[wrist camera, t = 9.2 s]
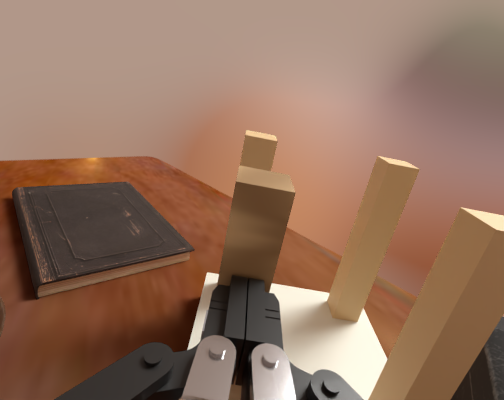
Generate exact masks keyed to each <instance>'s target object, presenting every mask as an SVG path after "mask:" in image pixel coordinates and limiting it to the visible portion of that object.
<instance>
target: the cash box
mask: <svg viewBox="0 0 504 400" xmlns="http://www.w3.org/2000/svg"><path fill="white" fill-rule="evenodd" d="M451 400H504V317H502V318H501V319H500V321H499V322H498V324H497V326H496V327H495V329H494V330H493V332H492V334H491V335H490V337H489V338H488V340H487V342H486V343H485V345H484V347H483V348H482V350H481V351H480V353H479V355H478V356H477V358H476V359H475V361H474V363H473V364H472V366H471V367H470V369H469V371H468V372H467V374H466V375H465V377H464V379H463V380H462V382H461V383H460V385H459V387H458V388H457V390H456V391H455V393H454V395H453V396H452V398H451Z"/></svg>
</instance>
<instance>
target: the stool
mask: <svg viewBox="0 0 504 400" xmlns="http://www.w3.org/2000/svg"><path fill="white" fill-rule="evenodd" d="M276 146H277V138H276V136H274V135H269V134H264V133H259V132H254V131H249V130H247V131H246V135H245V140H244V146H243V151H242V157H241V162H240V166H245V167H251V168H256V169H261V170H266V171H271V168H272V164H273V159H274V155H275V150H276ZM418 172H419V169H418V168H416V167H414V166H413V165H411V164H409V163H407V162H405V161H400V160H395V159H390V158H385V157H380V156H377V159H376V162H375V165H374V168H373V171H372V173H371V176H370V179H369V182H368V185H367V188H366V191H365V193H364V196H363V199H362V202H361V205H360V208H359V211H358V214H357V216H356V219H355V222H354V225H353V228H352V231H351V233H350V236H349V239H348V242H347V245H346V248H345V251H344V254H343V256H342V259H341V262H340V265H339V268H338V271H337V273H336V276H335V279H334V282H333V285H332V288H331V291H330V293H325V292H319V291H314V290H308V289H302V288H296V287H290V286H284V285H278V284H271V288H270V292H269V293H274V294H275V296H276V298H277V299H278V301H279V305H280V316H281V327H282V338H283V349H284V352H285V353H286V355H287V356H288V359H289V361H290V362H291V363H292V364H293V365H294V366H296V367H297V368H299V369H301V370H303V371H305V372H307V373H309V374H312V375H313V374H314V372H316V371H318V370H321V369H326V370H331V371H333V372H335V373H337V374H338V375H340V376H341V377H342V378H343V379H344V380H345V381H346V382H347V383H348V384H349V385H350V386H351V387H352V388H353V389H354V390H355V391H356V392H357V393H358V394H359V395H360V396H361V397H362V398H363V399H364V400H451V398H452V396H453V395H454V393H455V391H456V390H457V388H458V387H459V385H460V383H461V382H462V380H463V379H464V377H465V375H466V374H467V372H468V371H469V369H470V367H471V366H472V364H473V363H474V361H475V359H476V358H477V356H478V355H479V353H480V351H481V350H482V348H483V347H484V345H485V343H486V342H487V340H488V338H489V337H490V335H491V334H492V332H493V330H494V329H495V327H496V326H497V324H498V322H499V321H500V319H501V318H502V316H503V314H504V216H502V215H497V214H492V213H487V212H482V211H476V210H471V209H466V208H460V210H459V212H458V214H457V216H456V218H455V220H454V223H453V225H452V226H451V228H450V231H449V233H448V235H447V237H446V239H445V241H444V243H443V245H442V247H441V249H440V251H439V253H438V256H437V258H436V260H435V262H434V264H433V266H432V268H431V270H430V272H429V274H428V276H427V279H426V281H425V283H424V285H423V287H422V289H421V291H420V293H419V295H418V297H417V299H416V301H415V303H414V305H413V308H412V310H411V312H410V314H409V316H408V318H407V320H406V322H405V324H404V326H403V328H402V330H401V333H400V335H399V337H398V339H397V341H396V343H395V345H394V347H393V349H392V351H391V353H390V355H389V357H388V360H387V358H386V356H385V353H384V351H383V349H382V347H381V345H380V343H379V341H378V339H377V336H376V334H375V332H374V330H373V328H372V326H371V324H370V322H369V319H368V317H367V315H366V313H365V311H364V309H363V307H364V305H365V302H366V300H367V297H368V295H369V293H370V290H371V288H372V285H373V283H374V280H375V278H376V275H377V273H378V270H379V268H380V265H381V263H382V261H383V258H384V256H385V253H386V251H387V248H388V246H389V243H390V241H391V238H392V236H393V234H394V231H395V229H396V226H397V224H398V221H399V219H400V216H401V214H402V211H403V209H404V207H405V204H406V202H407V199H408V197H409V194H410V192H411V189H412V187H413V185H414V182H415V180H416V177H417V175H418ZM218 277H219V274H214V273H208V272H207V275H206V279H205V283H204V287H203V291H202V295H201V299H200V303H199V307H198V311H197V314H196V318H195V322H194V326H193V330H192V334H191V338H190V342H189V346H188V349H187V350H189V349H191V348H193V347H195V346H196V345H197V344H198V343H199V342H200V341H201V339H202V337H203V333H204V328H205V323H206V319H207V314H208V309H209V305H210V300H211V296H212V291H213V290H214V289H215V288H216V287H217V283H218Z"/></svg>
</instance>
